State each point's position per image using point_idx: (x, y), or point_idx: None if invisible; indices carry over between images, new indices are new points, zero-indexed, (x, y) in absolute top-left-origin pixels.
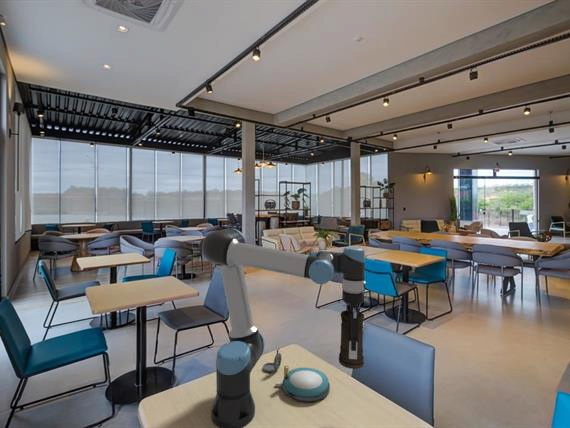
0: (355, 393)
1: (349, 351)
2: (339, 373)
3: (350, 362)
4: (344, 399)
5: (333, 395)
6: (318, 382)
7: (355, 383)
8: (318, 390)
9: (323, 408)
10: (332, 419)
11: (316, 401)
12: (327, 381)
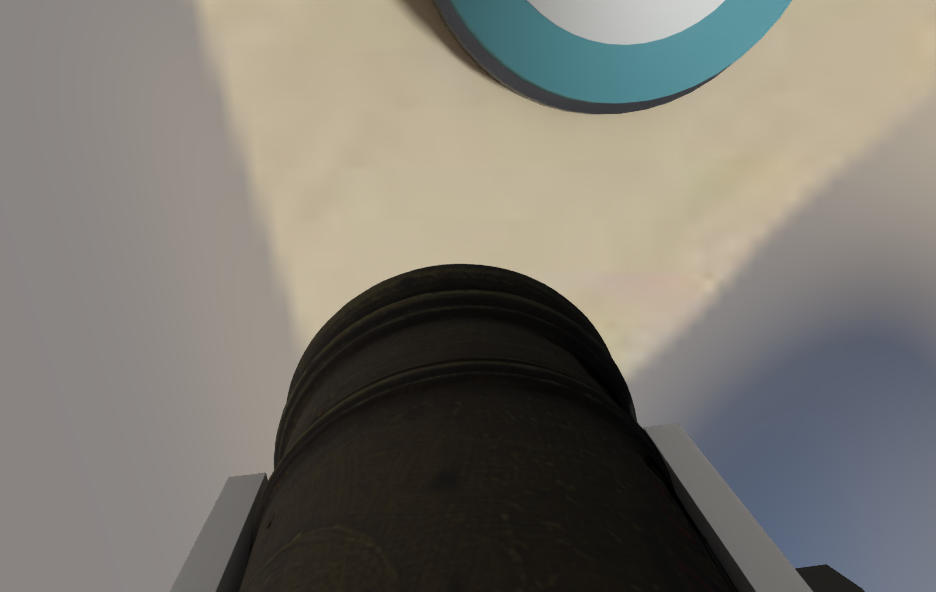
0: (581, 294)
1: (176, 583)
2: (816, 183)
3: (276, 454)
4: (505, 223)
5: (538, 145)
6: (598, 11)
7: (693, 296)
8: (483, 19)
9: (377, 77)
10: (281, 147)
11: (441, 15)
12: (623, 94)
